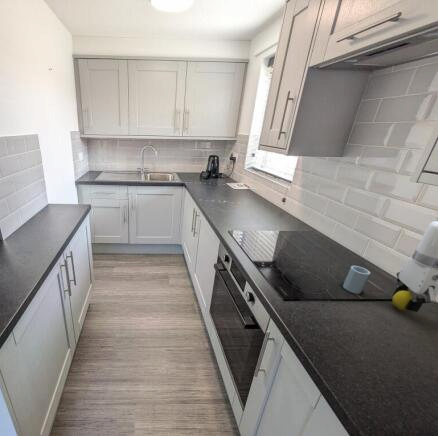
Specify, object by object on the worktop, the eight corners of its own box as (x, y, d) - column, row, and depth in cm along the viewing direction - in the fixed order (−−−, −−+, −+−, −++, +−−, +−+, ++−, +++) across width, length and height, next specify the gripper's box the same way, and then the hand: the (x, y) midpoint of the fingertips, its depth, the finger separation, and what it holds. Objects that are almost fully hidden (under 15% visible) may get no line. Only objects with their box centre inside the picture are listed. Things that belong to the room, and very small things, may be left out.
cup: (356, 286, 93) (365, 267, 89) (364, 295, 88) (373, 275, 84) (340, 283, 94) (348, 264, 91) (346, 291, 89) (355, 272, 86)
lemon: (409, 318, 77) (421, 299, 74) (387, 308, 81) (397, 290, 78) (411, 310, 81) (422, 292, 78) (389, 301, 85) (399, 284, 82)
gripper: (472, 277, 64) (438, 325, 71) (423, 248, 80) (400, 290, 87) (438, 272, 66) (409, 319, 73) (396, 245, 82) (376, 286, 88)
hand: (404, 303), depth 80 cm, fingers closed on lemon, 5 cm apart
